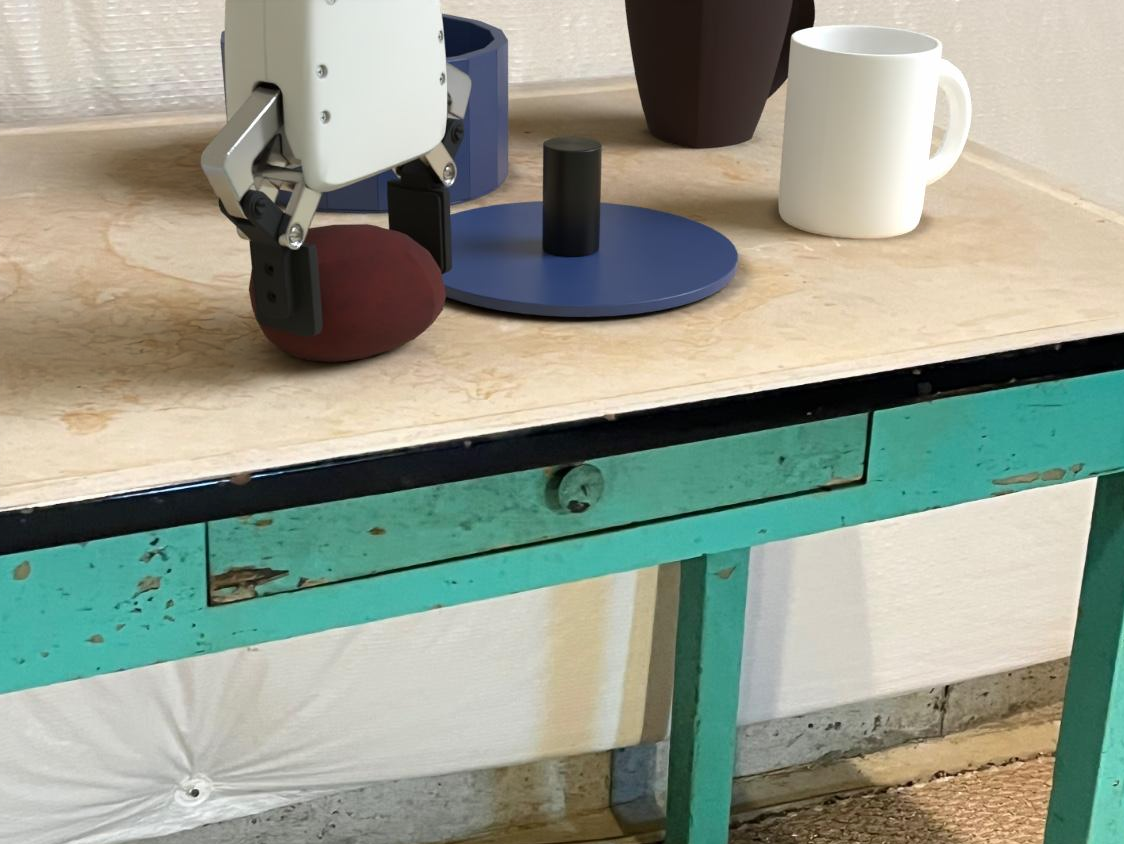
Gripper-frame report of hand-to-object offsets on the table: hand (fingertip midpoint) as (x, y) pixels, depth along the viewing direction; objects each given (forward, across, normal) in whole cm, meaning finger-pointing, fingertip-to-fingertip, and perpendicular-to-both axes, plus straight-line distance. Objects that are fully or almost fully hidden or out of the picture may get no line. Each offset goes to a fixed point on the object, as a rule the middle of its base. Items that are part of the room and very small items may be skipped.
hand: (358, 297), depth 77 cm
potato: (+3, 0, 0) cm, 3 cm away
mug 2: (+3, -34, +12) cm, 36 cm away
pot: (+3, -24, -17) cm, 30 cm away
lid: (+2, -16, +2) cm, 16 cm away
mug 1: (+3, -46, -4) cm, 46 cm away
